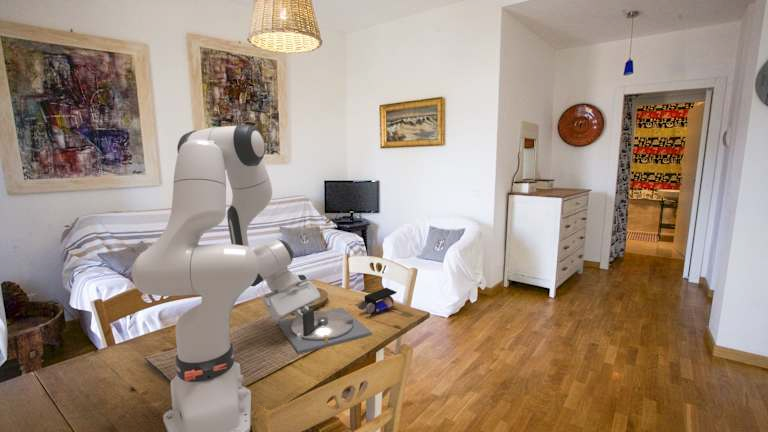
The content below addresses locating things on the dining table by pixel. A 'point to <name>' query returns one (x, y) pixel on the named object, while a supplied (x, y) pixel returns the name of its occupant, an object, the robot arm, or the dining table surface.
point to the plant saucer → (321, 300)
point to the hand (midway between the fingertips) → (307, 320)
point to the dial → (322, 325)
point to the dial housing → (310, 345)
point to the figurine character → (376, 296)
